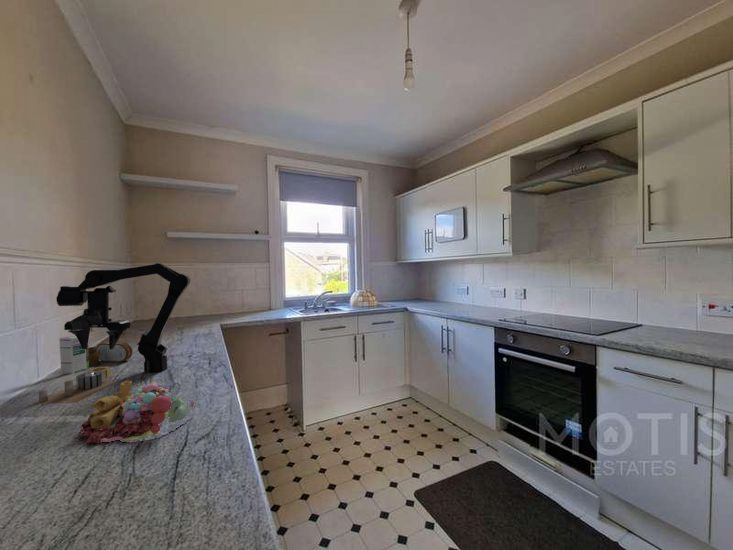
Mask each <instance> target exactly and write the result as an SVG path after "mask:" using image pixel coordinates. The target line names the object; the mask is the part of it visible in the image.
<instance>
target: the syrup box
mask: <svg viewBox="0 0 733 550" xmlns="http://www.w3.org/2000/svg"><path fill="white" fill-rule="evenodd" d="M58 340H59V355H60V356H59V357H60V359H59V360H60V373H61V376H62V375H66V374H71V375H72V374H73V375H74V374H77V373H80V372H83V371H86V370H87V371H88V370H90V367H89V356H88V348H89V344H88V345H87V348H86V349H82V346H81V344H80V342H79V340H78V338H77V337H76V335H74V334H72V335H69V336H63V337H59V339H58Z"/></svg>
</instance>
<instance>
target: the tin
mask: <svg viewBox="0 0 733 550" xmlns="http://www.w3.org/2000/svg"><path fill="white" fill-rule="evenodd" d="M96 347H97V352H98V354H99V361H101V362H104V363H106V362H107V363H123V362H125V361H128V360H129V359H131V358H132V356H133V348H132V346H131V345H130V344H129V343H128V342H125V341H117V343H116V344H115V346H114V348H113V349H112V350H110V348H109V340H108V341H107V340H106V341H104V342H101V343H99V344H98V345H97V346H96Z"/></svg>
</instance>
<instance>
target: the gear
mask: <svg viewBox="0 0 733 550" xmlns="http://www.w3.org/2000/svg"><path fill="white" fill-rule="evenodd" d="M75 378H76V379H75V381H76V384H75V385H77V390H90V389H94V388H97V387H100V386H101V385H102V382H103V379H102V372H101V371H100V372H99V371H95V372H89V373H87V372H85V373H80V374H78V375H77V376H76V377H75Z"/></svg>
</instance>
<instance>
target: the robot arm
mask: <svg viewBox="0 0 733 550" xmlns="http://www.w3.org/2000/svg"><path fill="white" fill-rule="evenodd" d="M151 275H158V276H159V277H161V278H162V279H164V280H165V281H167V282H169V285H168V288H167V289H168V291H167V295H166V298H165V299H164V302H163V304H162V305H161V308H160V310H159V312H158V314H157V315H156V317H155V319H154V320H155V321H154V323H153V324H152V326H151V328H150V329H149V331H148V330H147V331H145V332H143V333H142V334H141V337H140V340H139V341H138V342H137V344H136V346H137V351H138V353H139V354H140V355H142V356H143V358H144V362H143V372H144V373H148V374H157V373H163V372H165V371H166V370H168V356H167V355H166V354H167V353H166V352H167V351H168V348H167V347H166V346H164V345H163V344H162V339H163V333H164V330H165V327H166V326H167V325H168V324H167V323H168V322H169V319H170V317H171V315H172V313H173V312H174V310H175V307H176V305H177V303H178V301H179V299H180V298H181V296H182V295H183V293H184V292H185V290H186V289H187V288H189V286H190V283H191V278H190V276H189V275H188V274H186V273H180V272H177V271H176V270H174V269H172V268H170V267H168V266H167V265H165V264H164V263H159V262H157V263H154V264H149V265H142V266H134V267H129V268H128V267H127V268H121V269H93V270H90V271H88V272H87V273H86V274H85V276H84V280H82V282H80V284H79V285H78V286H69V285H64V286H60V287H59V288H60V289H59V291H58V293H57V296H55V297H56V304H57V306H59V307H79V306H80V307H83V305H84V304H85V303H87V308H84V310H83V312H82V314H81V315H79V316H77V317H75V318H74V319H71V320H68V321H66V322H65V324H64V326H63V330H64V331H67V332H68V333H71V334H72V335H76V337H77V338H78V340H79V342H80V344H81V346H82V349H86V348H87V345H88V346H89V342H88V341H90V339H89V338H90V334H91V333H90V332H91V328H92V329H93V328H94V329H96V328H97V329H98V328H100V329H102V328H103V329H107V331H106V334H107V335H108V341H109V348H110V350H112V349H113V348H114V346H115V344H116V343H117V342H119V341H118V340H119V339H120V337H121V336H122V334H123V333H124V332H125V331H127V330H128V329H130V328H131V322H130V320H124V319H121V320H120V319H117V320H114V321H112V318H110V316H109V313H110V311H112V310H113V309H112V307H110V306H109V305H110V304H109V303H110V302H109V301H110V298H109V297H110V293H111V294H112V293H116V291H117V289H114V288H113V287H112V285H110V284H114V283H116V282H119V281H122V280H126V279H127V280H128V279H133V278H139V277H145V276H146V277H147V276H151ZM102 286H106V287H102ZM90 289H94V290H90Z"/></svg>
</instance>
